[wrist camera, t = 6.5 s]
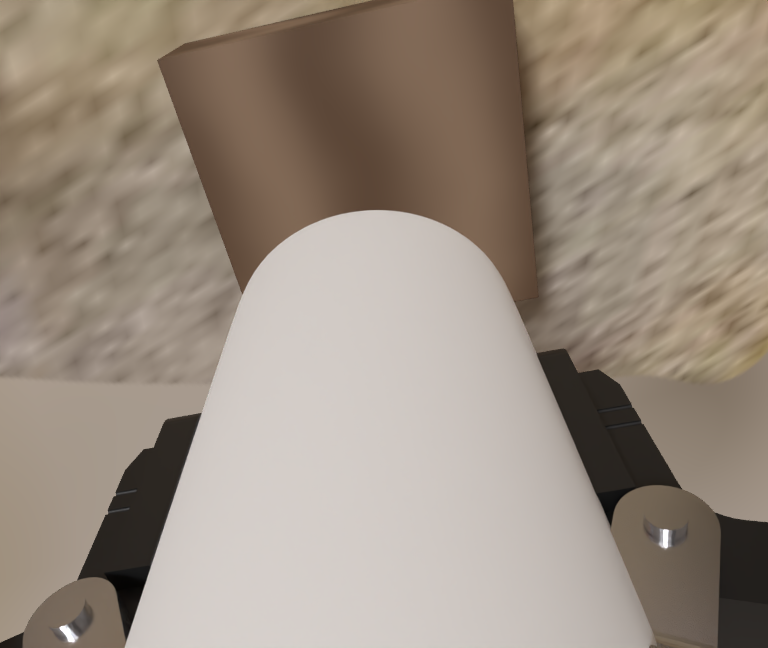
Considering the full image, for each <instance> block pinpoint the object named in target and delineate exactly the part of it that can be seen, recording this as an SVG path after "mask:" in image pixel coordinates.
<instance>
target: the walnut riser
mask: <svg viewBox="0 0 768 648" xmlns="http://www.w3.org/2000/svg"><path fill="white" fill-rule="evenodd" d="M157 61H158V64H159V66H160V69H161V72H162V75H163V77H164V80H165V83H166V86H167V88H168V91H169V94H170V97H171V99H172V102H173V105H174V108H175V110H176V113H177V116H178V119H179V121H180V124H181V127H182V130H183V132H184V135H185V138H186V141H187V143H188V146H189V149H190V152H191V154H192V157H193V160H194V163H195V165H196V168H197V171H198V174H199V176H200V179H201V182H202V185H203V187H204V190H205V193H206V196H207V198H208V201H209V204H210V207H211V209H212V212H213V215H214V218H215V220H216V223H217V226H218V229H219V231H220V234H221V237H222V240H223V242H224V245H225V248H226V251H227V253H228V256H229V259H230V262H231V264H232V267H233V270H234V273H235V275H236V278H237V281H238V284H239V286H240V289H241V292H242V295H243V293H244V290H245V288H246V286H247V284H248V282H249V280H250V279H251V277H252V275H253V274H254V272H255V270H256V269H257V268H258V266H259V265H260V264H261V262H262V261H263V260H264V259H265V258H266V256H267V255H268V254H269V253H270V252H271V251H272V250H273V249H275V248H276V247H277V246H278V245H279V244H280V243H281V242H283V241H284V240H285V239H287V238H288V237H290V236H291V235H293V234H294V233H296V232H298V231H299V230H301V229H303V228H305V227H307V226H309V225H311V224H313V223H316V222H318V221H320V220H323V219H326V218H329V217H332V216H336V215H340V214H345V213H350V212H356V211H367V210H388V211H399V212H405V213H410V214H415V215H419V216H423V217H426V218H429V219H432V220H434V221H437V222H439V223H442V224H444V225H446V226H448V227H450V228H452V229H454V230H455V231H457V232H459V233H460V234H462V235H463V236H465V237H466V238H467V239H469V240H470V241H471V242H473V243H474V244H475V245H476V246H477V247H478V248H479V249H480V250H481V251H483V252H484V254H485V255H486V256H487V257H488V258H489V259H490V260H491V262H492V263H493V264H494V266H495V267H496V269H497V270H498V272H499V273H500V275H501V277H502V278H503V280H504V282H505V284H506V286H507V288H508V290H509V292H510V294H511V296H512V298H513V301H514V302H516V301H521V300H526V299H531V298H536V297H538V286H537V275H536V263H535V252H534V240H533V228H532V217H531V205H530V193H529V182H528V170H527V159H526V147H525V135H524V124H523V112H522V101H521V89H520V77H519V66H518V54H517V42H516V31H515V19H514V8H513V0H372V1H368V2H364V3H359V4H355V5H351V6H346V7H342V8H338V9H333V10H329V11H325V12H320V13H316V14H312V15H307V16H303V17H298V18H294V19H290V20H285V21H281V22H277V23H272V24H268V25H264V26H259V27H255V28H251V29H246V30H242V31H238V32H233V33H229V34H225V35H220V36H216V37H212V38H207V39H203V40H198V41H194V42H190V43H185V44H183V45H182V46H180V47H178V48H177V49H175V50H173V51H172V52H170V53H168V54H167V55H165V56H163V57H162V58H160V59H158V60H157Z"/></svg>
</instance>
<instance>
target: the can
mask: <svg viewBox="0 0 768 648" xmlns="http://www.w3.org/2000/svg"><path fill="white" fill-rule="evenodd" d="M610 530H611V526H610V524H609V521H608V519H607V517H606V514H605V512H604V510H603V507H602V505H601V503H600V501H599V499H598V497H597V495H596V493H595V491H594V488H593V486H592V484H591V481H590V479H589V477H588V474H587V472H586V470H585V467H584V465H583V462H582V460H581V458H580V455H579V453H578V451H577V448H576V446H575V444H574V441H573V439H572V437H571V434H570V432H569V429H568V427H567V425H566V422H565V420H564V418H563V415H562V413H561V411H560V408H559V406H558V404H557V401H556V399H555V397H554V394H553V392H552V390H551V387H550V385H549V383H548V380H547V378H546V376H545V373H544V371H543V369H542V366H541V364H540V362H539V359H538V357H537V354H536V351H535V348H534V346H533V344H532V342H531V339H530V337H529V335H528V332H527V330H526V328H525V325H524V323H523V321H522V318H521V316H520V314H519V312H518V310H517V307H516V305H515V303H514V301H513V298H512V296H511V294H510V292H509V290H508V288H507V286H506V284H505V282H504V280H503V278H502V277H501V275H500V273H499V272H498V270H497V269H496V267H495V266H494V264H493V263H492V262H491V260H490V259H489V258H488V257H487V256H486V255H485V254H484V252H483V251H481V250H480V249H479V248H478V247H477V246H476V245H475V244H474V243H473V242H471V241H470V240H469V239H467V238H466V237H465V236H463V235H462V234H460V233H459V232H457V231H455V230H454V229H452V228H450V227H448V226H446V225H444V224H442V223H439V222H437V221H434V220H432V219H429V218H426V217H423V216H419V215H415V214H410V213H405V212H399V211H388V210H367V211H356V212H350V213H345V214H340V215H336V216H332V217H329V218H326V219H323V220H320V221H318V222H316V223H313V224H311V225H309V226H307V227H305V228H303V229H301V230H299V231H298V232H296V233H294V234H293V235H291V236H290V237H288V238H287V239H285V240H284V241H283V242H281V243H280V244H279V245H278V246H277V247H276V248H275V249H273V250H272V251H271V252H270V253H269V254H268V255H267V256H266V258H265V259H264V260H263V261H262V262H261V264H260V265H259V266H258V268H257V269H256V270H255V272H254V274H253V275H252V277H251V279H250V280H249V282H248V284H247V286H246V288H245V290H244V293H243V295H242V298H241V300H240V303H239V305H238V308H237V311H236V314H235V316H234V319H233V322H232V325H231V328H230V331H229V334H228V337H227V340H226V343H225V346H224V349H223V351H222V354H221V357H220V360H219V363H218V366H217V369H216V372H215V375H214V378H213V381H212V384H211V387H210V390H209V393H208V396H207V400H206V402H205V405H204V408H203V411H202V414H201V417H200V420H199V423H198V426H197V429H196V432H195V435H194V438H193V441H192V444H191V447H190V450H189V453H188V456H187V459H186V462H185V465H184V468H183V471H182V474H181V477H180V480H179V483H178V486H177V489H176V492H175V495H174V499H173V502H172V505H171V508H170V511H169V514H168V517H167V520H166V523H165V526H164V529H163V532H162V535H161V538H160V541H159V544H158V547H157V550H156V553H155V556H154V559H153V562H152V565H151V568H150V571H149V574H148V577H147V581H146V584H145V587H144V590H143V593H142V596H141V599H140V602H139V605H138V608H137V611H136V614H135V617H134V620H133V623H132V626H131V629H130V632H129V636H128V639H127V642H126V645H125V648H649V646H650V645H655V646H657V644H656V640H655V637H654V634H653V632H652V629H651V627H650V624H649V622H648V619H647V617H646V615H645V612H644V610H643V607H642V605H641V603H640V600H639V598H638V595H637V593H636V591H635V588H634V586H633V584H632V581H631V579H630V576H629V574H628V572H627V569H626V567H625V564H624V562H623V560H622V557H621V555H620V552H619V550H618V548H617V545H616V543H615V541H614V538H613V536H612V533H611V531H610Z"/></svg>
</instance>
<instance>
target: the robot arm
mask: <svg viewBox="0 0 768 648" xmlns="http://www.w3.org/2000/svg"><path fill="white" fill-rule="evenodd" d="M536 354H537V357H538V359H539V362H540V364H541V366H542V369H543V371H544V373H545V376H546V378H547V380H548V383H549V385H550V387H551V390H552V392H553V394H554V397H555V399H556V401H557V404H558V406H559V408H560V411H561V413H562V415H563V418H564V420H565V422H566V425H567V427H568V429H569V432H570V434H571V437H572V439H573V441H574V444H575V446H576V448H577V451H578V453H579V455H580V458H581V460H582V462H583V465H584V467H585V470H586V472H587V474H588V477H589V479H590V481H591V484H592V486H593V488H594V491H595V493H596V495H597V497H598V499H599V501H600V503H601V505H602V507H603V510H604V512H605V514H606V517H607V519H608V521H609V524H610V526H611V530H610V531H611V533H612V536H613V538H614V541H615V543H616V545H617V548H618V550H619V552H620V555H621V557H622V560H623V562H624V564H625V567H626V569H627V572H628V574H629V576H630V579H631V581H632V584H633V586H634V588H635V591H636V593H637V595H638V598H639V600H640V603H641V605H642V607H643V610H644V612H645V615H646V617H647V619H648V622H649V624H650V627H651V629H652V632H653V634H654V637H655V640H656V644H657V646H655V645H650V646H649V648H768V522H758V521H747V520H740V519H734V518H731V517H727V516H723V515H720V514H718V513H715V512H714V511H713V510H712V509H711V508H710V507H709V506H708V505H707V504H706V503H705V502H704V501H703V500H701V499H700V498H698V497H697V496H695V495H694V494H692V493H689V492H687V491H685V490H682V488H681V487H680V485H679V484H678V482H677V481H676V479H675V477H674V475H673V474H672V472H671V470H670V469H669V467H668V465H667V464H666V462H665V460H664V458H663V457H662V455H661V453H660V452H659V450H658V448H657V447H656V445H655V443H654V442H653V440H652V438H651V436H650V435H649V433H648V431H647V430H646V428H645V426H644V424H642V423H641V419H640V418H639V416H638V414H637V413H636V411H635V410H634V408H632V405H631V403H630V401H629V399H628V398H627V396H626V394H625V392H624V391H623V389H622V387H621V386H620V384H618V383H617V382H616V381H614V380H613V379H611V378H610V377H608V376H607V375H606V374H604V373H603V372H601V371H600V370H593V371H588V372H582V373H578V372H577V370H576V368H575V366H574V364H573V363H572V361H571V359H570V357H569V355H568V353H567V351H566V350H565V349H558V350H552V351H547V352H541V353H536ZM201 414H202V413H199V414H193V415H188V416H182V417H177V418H172V419H167V420H166V421H165V422H164V424H163V426H162V428H161V431H160V433H159V436H158V438H157V441H156V443H155V446H154V448H149V449H144V450H143V451H142V452H141V453H140V454H139V455H138V457H137V458H136V459H135V460H134V461H133V462H132V463H131V464H130V465H129V467H128V468H127V469H126V470H125V472H124V474H123V476H122V479H121V481H120V483H119V486H118V488H117V490H116V496H114V497H113V500H112V502H111V504H110V506H109V508H108V515H105V518H104V520H103V522H102V525H101V527H100V529H99V531H98V534H97V536H96V538H95V541H94V543H93V545H92V548H91V550H90V552H89V554H88V557H87V559H86V561H85V564H84V566H83V568H82V570H81V573H80V575H79V577H78V580H77V581H74V582H72V583H70V584H68V585H66V586H64V587H62V588H61V589H59V590H58V591H57V592H55V593H53V594H52V595H51V596H50V597H48V598H47V599H46V600H45V601H44V602H43V603H42V604H41V605H40V606H39V607H38V609H37V610H36V611H35V613H34V614H33V615H32V617H31V618H30V620H29V622H28V624H27V626H26V628H25V631H24V632H23V633H21V634H19V635H16V636H14V637H12V638H10V639H8V640H5V641H3V642H1V643H0V648H125V645H126V642H127V639H128V636H129V632H130V629H131V626H132V623H133V620H134V617H135V614H136V611H137V608H138V605H139V602H140V599H141V596H142V593H143V590H144V587H145V584H146V581H147V577H148V574H149V571H150V568H151V565H152V562H153V559H154V556H155V553H156V550H157V547H158V544H159V541H160V538H161V535H162V532H163V529H164V526H165V523H166V520H167V517H168V514H169V511H170V508H171V505H172V502H173V499H174V495H175V492H176V489H177V486H178V483H179V480H180V477H181V474H182V471H183V468H184V465H185V462H186V459H187V456H188V453H189V450H190V447H191V444H192V441H193V438H194V435H195V432H196V429H197V426H198V423H199V420H200V417H201Z"/></svg>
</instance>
